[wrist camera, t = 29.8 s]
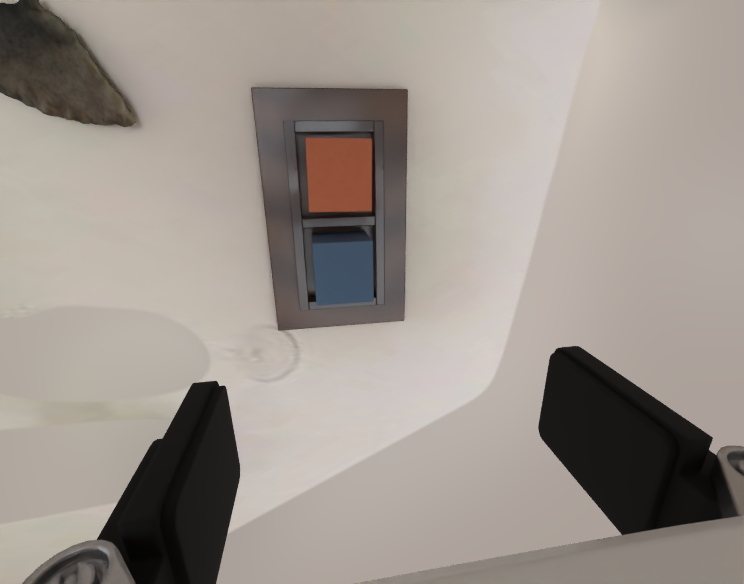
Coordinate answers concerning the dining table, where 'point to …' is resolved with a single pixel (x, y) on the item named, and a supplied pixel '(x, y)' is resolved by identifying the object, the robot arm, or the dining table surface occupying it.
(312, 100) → the dark brown flat tray
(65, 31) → the arrowhead
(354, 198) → the orange-brown block
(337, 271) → the blue block
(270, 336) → the dining table surface
